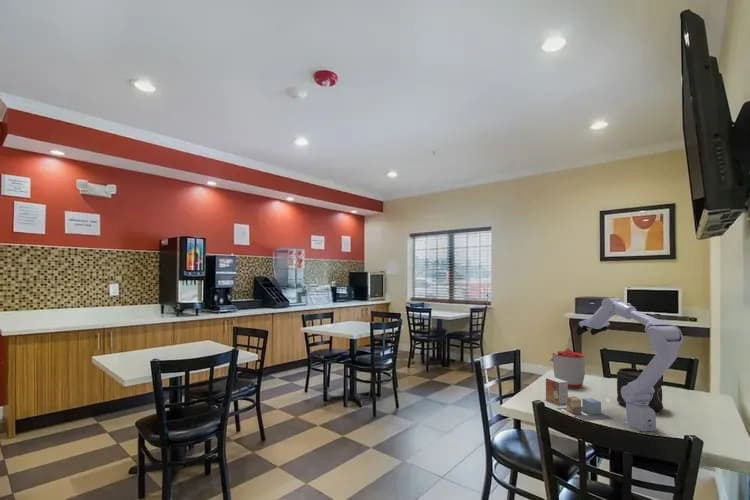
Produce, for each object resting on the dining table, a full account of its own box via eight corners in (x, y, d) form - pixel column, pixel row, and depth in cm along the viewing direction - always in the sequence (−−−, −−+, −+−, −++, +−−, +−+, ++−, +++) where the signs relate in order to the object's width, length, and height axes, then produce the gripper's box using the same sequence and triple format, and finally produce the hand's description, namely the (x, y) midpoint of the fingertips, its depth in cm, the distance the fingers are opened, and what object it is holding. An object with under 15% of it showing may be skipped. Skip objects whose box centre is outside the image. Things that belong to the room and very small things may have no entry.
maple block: (581, 413, 162) (580, 399, 163) (573, 414, 162) (572, 399, 162) (574, 410, 166) (574, 396, 167) (566, 410, 166) (566, 396, 166)
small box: (545, 400, 181) (545, 377, 182) (554, 399, 183) (554, 376, 183) (559, 405, 173) (558, 382, 174) (568, 404, 175) (568, 381, 176)
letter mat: (614, 420, 157) (614, 418, 157) (580, 422, 154) (580, 421, 154) (587, 407, 171) (587, 406, 172) (556, 409, 169) (556, 408, 169)
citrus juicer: (558, 379, 217) (557, 344, 219) (590, 386, 204) (589, 349, 205) (544, 384, 208) (544, 347, 209) (578, 392, 194) (577, 352, 195)
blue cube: (601, 413, 162) (601, 401, 163) (591, 414, 162) (590, 402, 162) (592, 409, 167) (592, 398, 168) (582, 410, 166) (582, 398, 167)
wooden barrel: (653, 402, 180) (652, 368, 181) (671, 415, 162) (670, 378, 163) (610, 398, 185) (609, 365, 186) (623, 411, 167) (622, 375, 168)
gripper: (609, 309, 175) (593, 326, 185) (582, 309, 172) (567, 326, 182) (618, 322, 170) (601, 338, 180) (590, 323, 167) (574, 339, 177)
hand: (584, 333), depth 180 cm, fingers open, 7 cm apart
